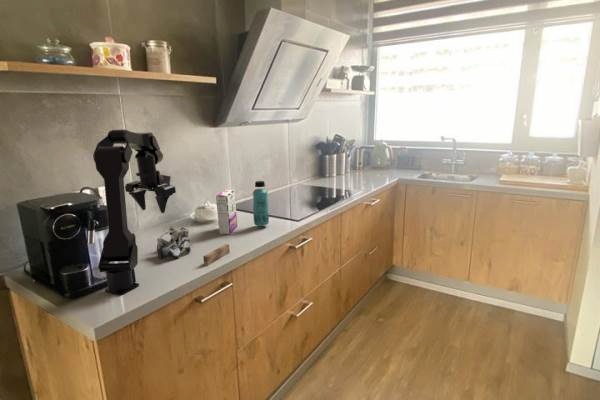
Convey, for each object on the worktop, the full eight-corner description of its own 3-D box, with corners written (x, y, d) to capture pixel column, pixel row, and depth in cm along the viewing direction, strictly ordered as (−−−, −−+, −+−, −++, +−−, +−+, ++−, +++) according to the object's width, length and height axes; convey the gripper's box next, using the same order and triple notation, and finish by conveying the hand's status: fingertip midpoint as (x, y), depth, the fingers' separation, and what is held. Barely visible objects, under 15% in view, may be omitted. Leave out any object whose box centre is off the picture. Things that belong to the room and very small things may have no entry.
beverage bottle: (251, 226, 156) (249, 180, 152) (266, 223, 159) (264, 179, 155) (257, 230, 151) (254, 183, 146) (271, 227, 154) (269, 181, 149)
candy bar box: (226, 226, 157) (223, 189, 153) (237, 226, 157) (235, 189, 153) (218, 234, 146) (215, 195, 142) (230, 234, 146) (227, 195, 142)
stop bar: (207, 265, 116) (207, 256, 115) (204, 264, 117) (203, 256, 116) (229, 252, 127) (229, 244, 126) (226, 252, 127) (225, 244, 126)
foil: (142, 248, 124) (171, 216, 132) (161, 266, 131) (187, 235, 139) (162, 253, 117) (191, 219, 125) (181, 272, 124) (207, 239, 132)
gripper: (184, 166, 128) (188, 207, 133) (145, 163, 136) (151, 202, 140) (160, 172, 119) (166, 217, 123) (120, 168, 126) (127, 210, 131)
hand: (153, 211), depth 130 cm, fingers open, 9 cm apart
